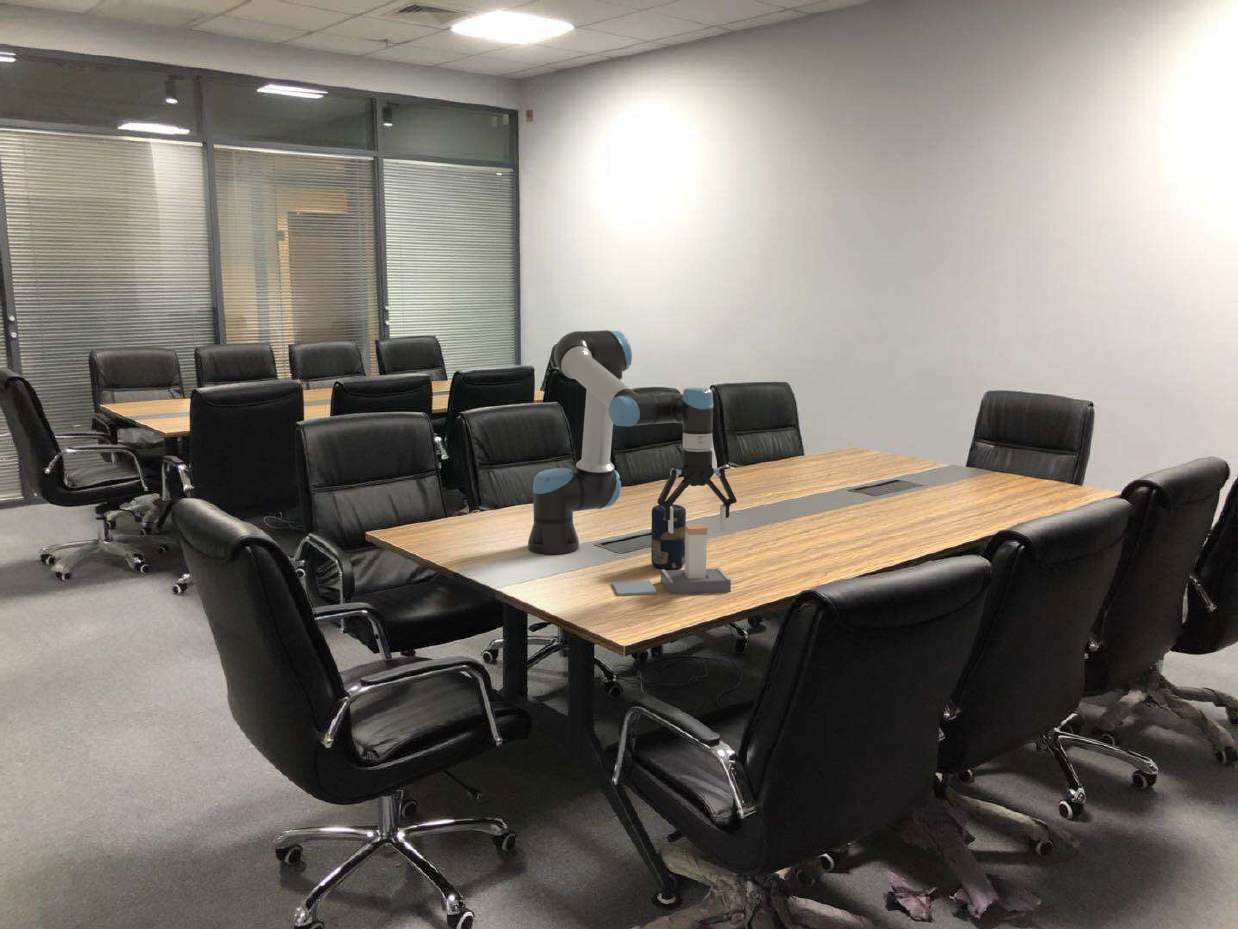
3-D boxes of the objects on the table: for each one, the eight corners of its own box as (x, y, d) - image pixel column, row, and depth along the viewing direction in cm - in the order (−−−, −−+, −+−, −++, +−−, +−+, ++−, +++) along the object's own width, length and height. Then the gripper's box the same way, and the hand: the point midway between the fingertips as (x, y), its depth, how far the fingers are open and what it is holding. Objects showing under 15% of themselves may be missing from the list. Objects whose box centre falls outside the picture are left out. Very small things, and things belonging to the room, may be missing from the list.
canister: (683, 561, 275) (684, 499, 272) (687, 570, 266) (688, 506, 263) (650, 561, 275) (650, 499, 272) (652, 571, 266) (652, 506, 262)
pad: (617, 595, 243) (617, 593, 243) (612, 584, 253) (612, 582, 253) (657, 594, 245) (657, 591, 245) (649, 582, 255) (649, 580, 254)
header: (669, 594, 245) (669, 581, 244) (660, 581, 255) (660, 569, 255) (730, 591, 247) (730, 579, 247) (719, 579, 258) (720, 567, 257)
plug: (688, 589, 249) (689, 528, 246) (684, 584, 253) (684, 524, 251) (706, 588, 249) (707, 528, 247) (701, 583, 254) (703, 524, 251)
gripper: (651, 452, 240) (651, 536, 243) (749, 450, 243) (747, 532, 247) (646, 448, 247) (646, 529, 250) (741, 446, 251) (739, 526, 254)
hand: (696, 531), depth 249 cm, fingers open, 13 cm apart
